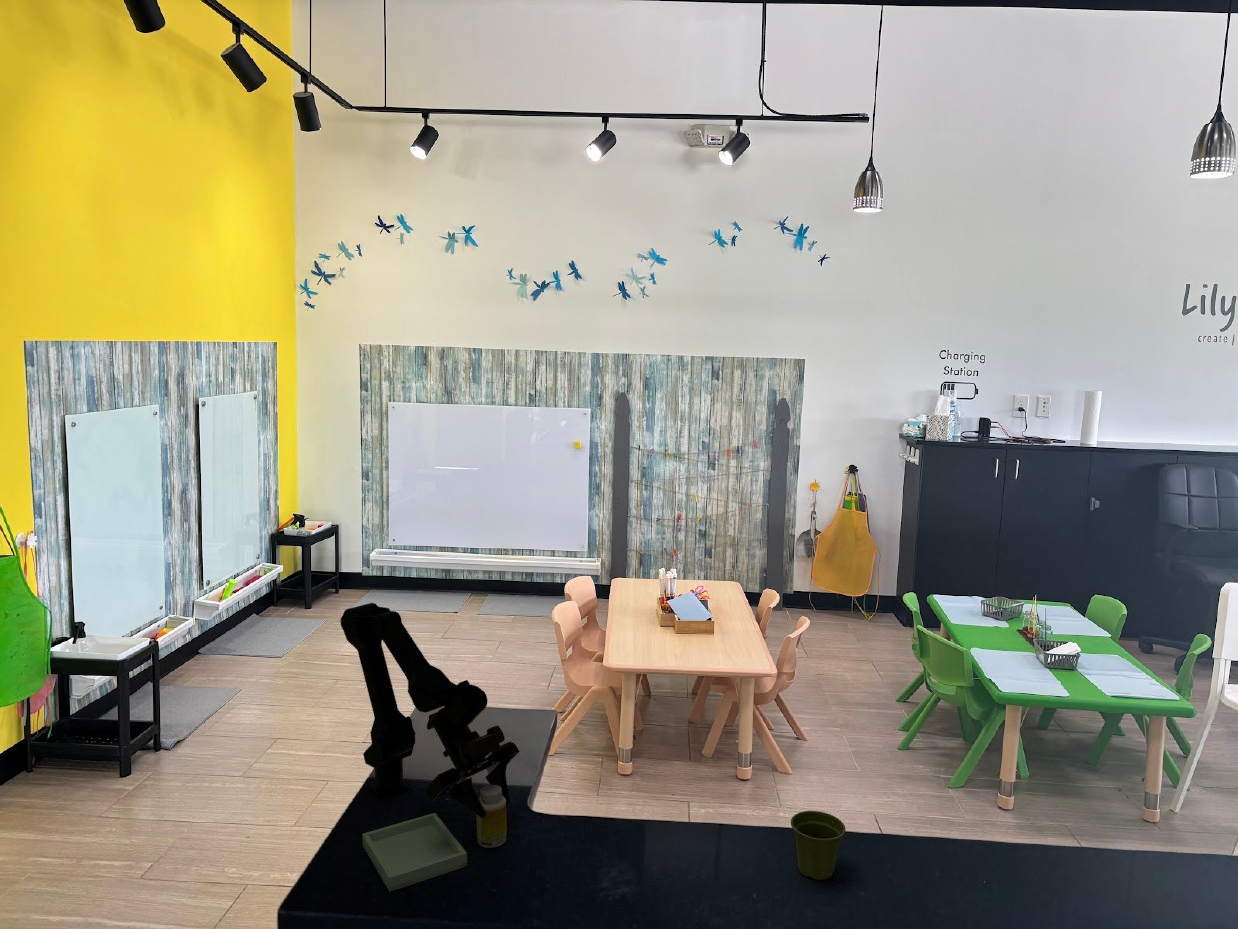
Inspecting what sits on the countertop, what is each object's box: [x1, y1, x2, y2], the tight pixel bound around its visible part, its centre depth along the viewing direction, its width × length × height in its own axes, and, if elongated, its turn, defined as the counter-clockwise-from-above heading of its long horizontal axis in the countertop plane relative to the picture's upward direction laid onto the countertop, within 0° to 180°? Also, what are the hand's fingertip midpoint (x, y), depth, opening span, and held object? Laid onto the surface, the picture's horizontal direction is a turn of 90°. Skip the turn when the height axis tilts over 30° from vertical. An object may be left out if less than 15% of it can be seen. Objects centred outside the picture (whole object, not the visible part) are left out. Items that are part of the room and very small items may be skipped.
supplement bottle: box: [475, 784, 508, 849], centre depth 160 cm, size 6×6×10 cm
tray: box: [362, 812, 468, 893], centre depth 155 cm, size 16×14×2 cm
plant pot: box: [790, 810, 846, 881], centre depth 151 cm, size 9×9×9 cm
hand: (496, 810), depth 159 cm, fingers closed on supplement bottle, 6 cm apart
